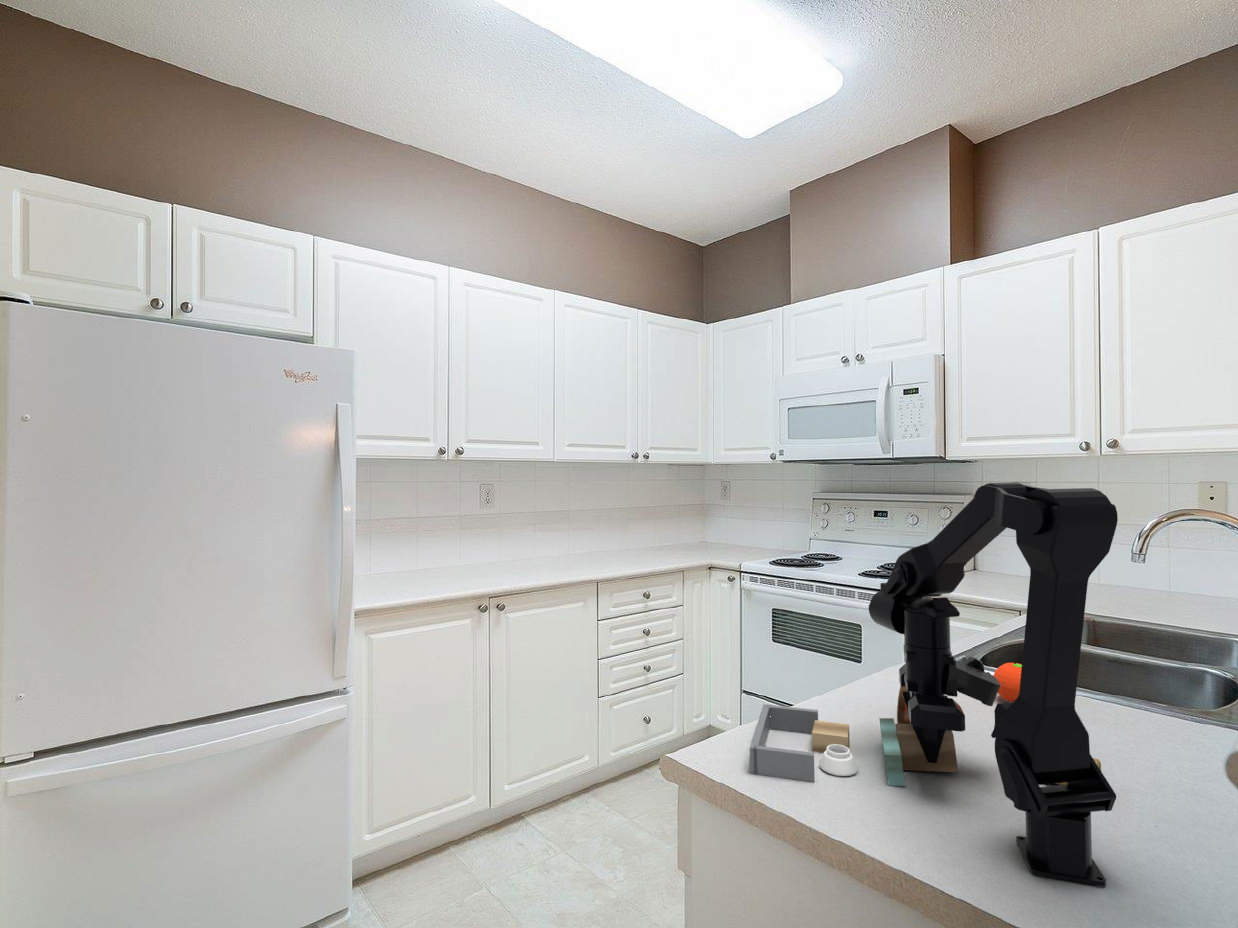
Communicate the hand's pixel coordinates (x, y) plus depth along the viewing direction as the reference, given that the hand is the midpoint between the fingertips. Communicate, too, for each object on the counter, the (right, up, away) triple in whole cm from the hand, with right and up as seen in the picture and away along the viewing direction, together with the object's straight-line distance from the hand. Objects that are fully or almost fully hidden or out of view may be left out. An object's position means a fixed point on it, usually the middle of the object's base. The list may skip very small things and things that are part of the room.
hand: (930, 756), depth 88 cm
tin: (+6, -2, +16) cm, 17 cm away
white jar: (-12, -2, +1) cm, 13 cm away
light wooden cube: (-11, -2, +8) cm, 14 cm away
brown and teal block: (-1, -1, 0) cm, 2 cm away
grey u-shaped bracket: (-18, -2, +6) cm, 19 cm away
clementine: (+27, -2, +23) cm, 36 cm away
